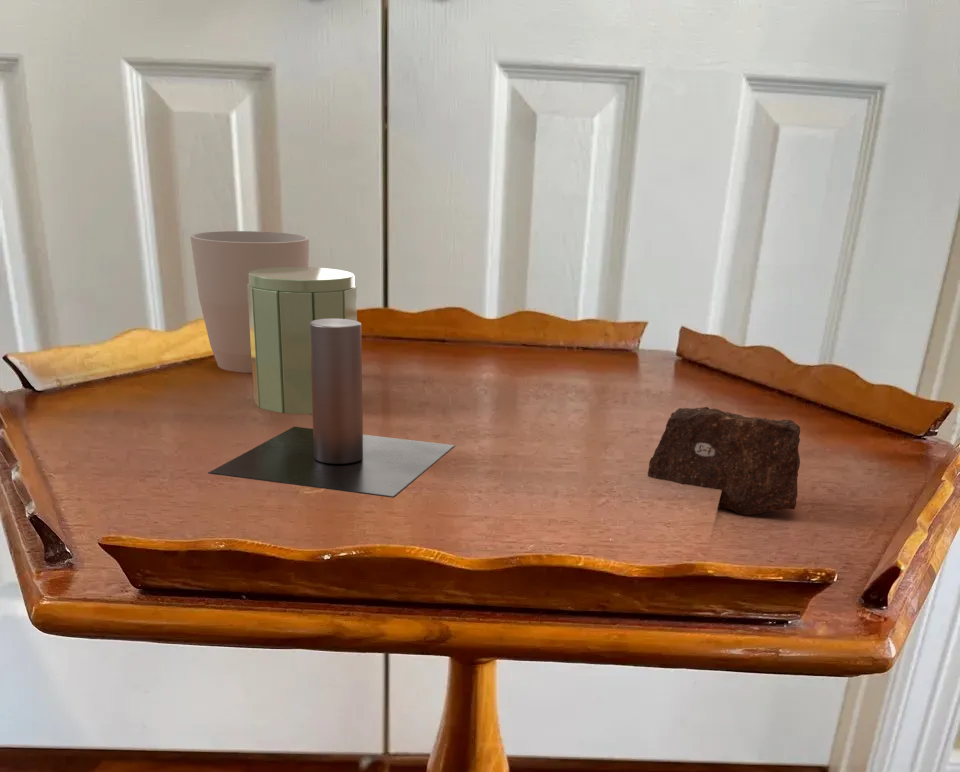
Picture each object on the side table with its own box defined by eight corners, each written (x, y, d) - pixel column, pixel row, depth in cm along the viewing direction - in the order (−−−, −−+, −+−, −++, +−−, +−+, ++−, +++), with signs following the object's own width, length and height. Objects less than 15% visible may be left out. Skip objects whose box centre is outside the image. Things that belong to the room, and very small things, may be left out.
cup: (299, 367, 81) (293, 231, 76) (326, 389, 74) (321, 242, 70) (194, 371, 78) (182, 230, 73) (212, 395, 71) (200, 242, 67)
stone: (642, 499, 54) (652, 404, 52) (657, 484, 57) (668, 393, 54) (790, 524, 51) (808, 425, 49) (799, 507, 54) (817, 412, 52)
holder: (208, 495, 52) (195, 329, 48) (294, 446, 61) (288, 302, 57) (393, 520, 50) (393, 347, 46) (455, 465, 58) (459, 316, 55)
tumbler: (237, 426, 64) (227, 275, 60) (284, 403, 70) (277, 264, 66) (332, 437, 63) (328, 283, 59) (372, 413, 69) (370, 271, 65)
